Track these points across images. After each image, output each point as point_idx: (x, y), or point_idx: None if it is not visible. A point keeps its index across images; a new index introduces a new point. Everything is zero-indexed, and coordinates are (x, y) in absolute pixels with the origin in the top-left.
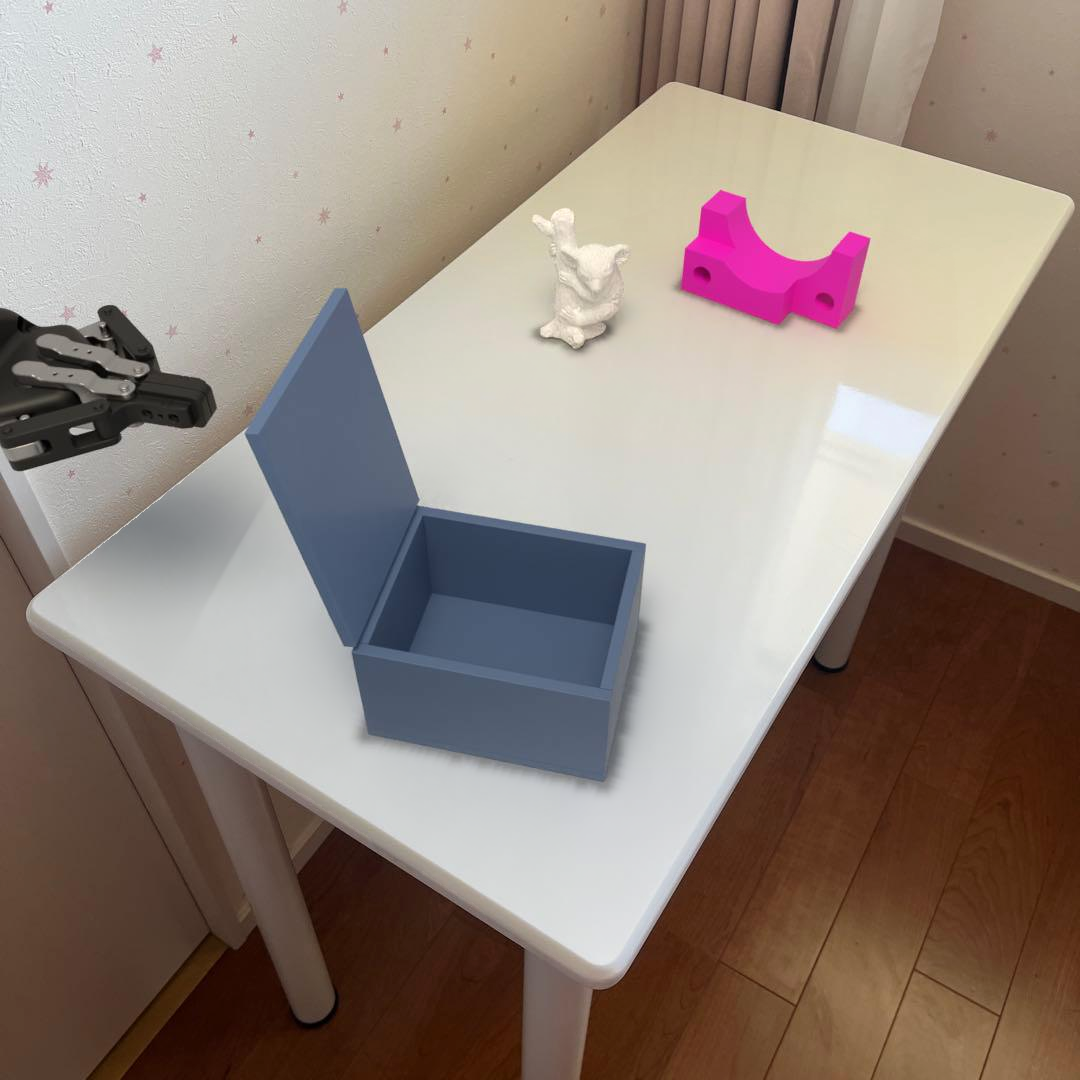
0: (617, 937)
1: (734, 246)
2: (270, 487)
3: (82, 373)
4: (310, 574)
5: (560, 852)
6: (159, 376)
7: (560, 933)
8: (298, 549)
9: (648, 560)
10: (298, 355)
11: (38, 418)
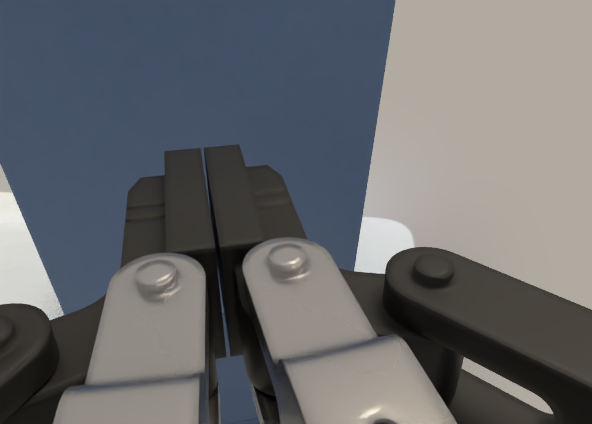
0: (389, 221)
1: None
2: (388, 37)
3: (333, 378)
4: (365, 193)
5: (356, 256)
6: (174, 225)
7: (408, 240)
8: (371, 155)
9: (37, 288)
10: None
11: None
